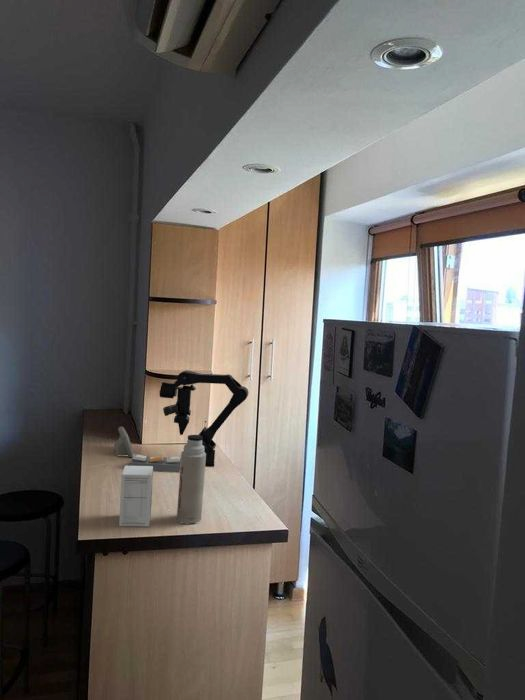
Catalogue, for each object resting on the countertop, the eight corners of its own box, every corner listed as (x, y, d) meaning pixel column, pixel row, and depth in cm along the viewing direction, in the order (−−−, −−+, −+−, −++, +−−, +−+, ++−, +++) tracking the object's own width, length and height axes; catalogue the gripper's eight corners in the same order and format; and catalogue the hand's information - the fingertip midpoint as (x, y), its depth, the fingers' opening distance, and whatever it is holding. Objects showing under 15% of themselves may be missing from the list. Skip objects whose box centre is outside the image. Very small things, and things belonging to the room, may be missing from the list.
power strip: (181, 465, 237) (181, 457, 237) (179, 472, 227) (180, 465, 227) (133, 462, 235) (134, 455, 235) (130, 469, 225) (130, 462, 225)
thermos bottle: (175, 523, 177) (181, 438, 174) (177, 514, 185) (183, 432, 182) (200, 525, 177) (207, 440, 175) (201, 515, 185) (207, 433, 183)
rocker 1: (145, 459, 230) (146, 456, 230) (145, 461, 227) (145, 458, 227) (133, 456, 229) (134, 453, 229) (132, 458, 226) (133, 455, 226)
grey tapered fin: (134, 459, 240) (135, 435, 239) (112, 458, 238) (114, 434, 237) (135, 448, 256) (136, 426, 255) (115, 448, 254) (116, 425, 253)
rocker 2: (180, 459, 231) (179, 456, 231) (179, 461, 228) (179, 458, 228) (167, 460, 231) (167, 457, 231) (166, 462, 228) (166, 459, 228)
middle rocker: (163, 457, 230) (162, 454, 230) (162, 459, 227) (161, 456, 227) (150, 459, 230) (150, 456, 230) (149, 462, 227) (149, 459, 227)
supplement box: (151, 515, 182) (154, 465, 180) (149, 527, 173) (152, 474, 171) (121, 514, 180) (124, 464, 179) (118, 526, 171) (121, 473, 170)
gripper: (166, 394, 248) (164, 428, 249) (163, 402, 229) (160, 439, 231) (191, 396, 249) (189, 430, 250) (190, 404, 230) (187, 440, 232)
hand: (181, 434), depth 241 cm, fingers closed
